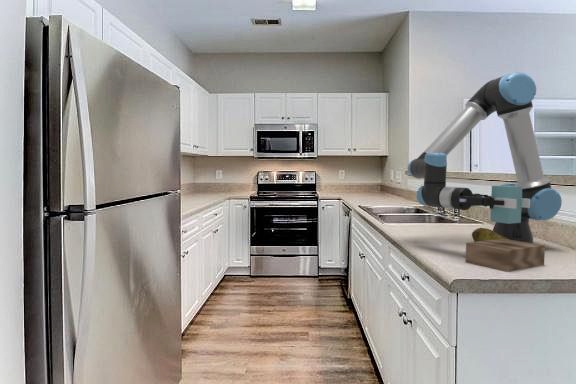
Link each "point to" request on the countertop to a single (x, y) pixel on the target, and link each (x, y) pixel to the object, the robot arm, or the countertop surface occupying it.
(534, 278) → the countertop surface
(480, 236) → the potato
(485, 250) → the block
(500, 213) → the teal block
